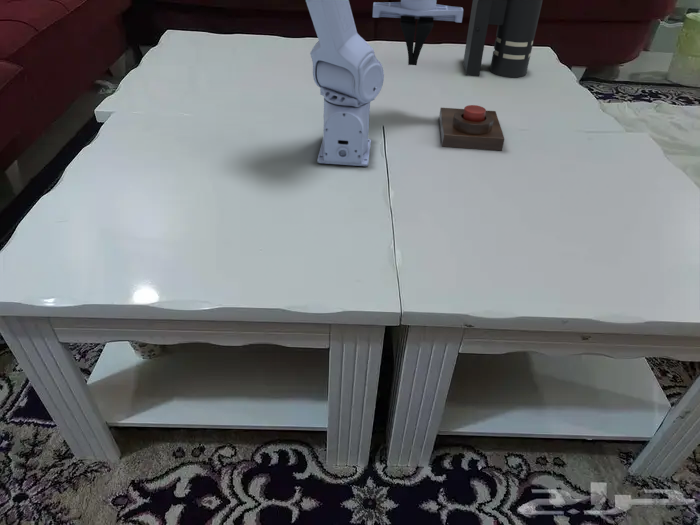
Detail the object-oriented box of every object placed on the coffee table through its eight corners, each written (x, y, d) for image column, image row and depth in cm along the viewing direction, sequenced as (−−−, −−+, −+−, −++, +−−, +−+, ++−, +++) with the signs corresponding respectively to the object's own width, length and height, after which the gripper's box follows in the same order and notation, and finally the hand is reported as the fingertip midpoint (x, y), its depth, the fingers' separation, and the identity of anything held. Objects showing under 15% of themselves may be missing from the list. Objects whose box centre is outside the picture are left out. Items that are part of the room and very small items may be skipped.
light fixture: (529, 80, 125) (549, -9, 114) (466, 75, 126) (480, -13, 115) (522, 65, 133) (541, -19, 122) (463, 61, 134) (476, -23, 123)
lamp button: (485, 123, 96) (487, 113, 94) (463, 122, 96) (465, 112, 95) (482, 115, 98) (484, 105, 97) (461, 114, 99) (463, 104, 98)
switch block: (502, 150, 96) (506, 128, 93) (442, 146, 96) (445, 124, 94) (493, 122, 105) (497, 101, 103) (438, 118, 106) (441, 97, 103)
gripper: (465, -26, 93) (453, 58, 101) (376, -31, 94) (371, 53, 102) (469, -18, 87) (455, 71, 96) (374, -23, 88) (369, 66, 96)
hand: (412, 63), depth 98 cm, fingers closed
